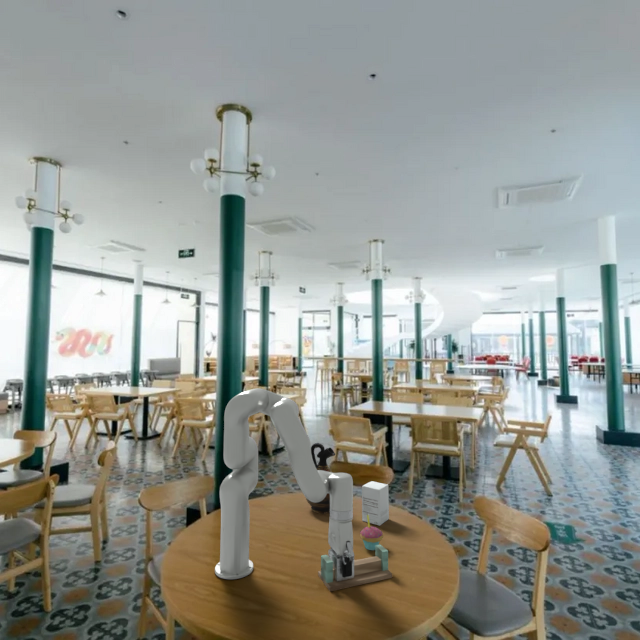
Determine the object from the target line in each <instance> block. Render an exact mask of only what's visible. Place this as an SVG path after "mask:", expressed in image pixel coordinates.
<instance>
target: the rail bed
mask: <svg viewBox="0 0 640 640" xmlns="http://www.w3.org/2000/svg"><path fill="white" fill-rule="evenodd" d="M374 551H375V556H369V557H365V558H360V559H354V578H352V579H347V580H342V581H338V582H337V581H336V580H335V568H334V567H333V561H332V560H331V559H330V558H329V557H328V554H323V555H321V556H320V570H318V571H317V575H318V577H319V579H320V580H321V581H322V582H323V584H324V585H325V587H326V588H327V589H328V591H329V592H334V591H339V590H342V589H346V588H347V589H348V588H351V587H358V586H361V585H364V584H369V583H373V582H378V581H379V582H380V581H382V580H387V579H392V578H393V573H392V572H391V571H390V570H389V550H388V549H387V548H386V547H384V546H383V545H382V544H380V543H379V545H375V550H374Z"/></svg>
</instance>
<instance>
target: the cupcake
mask: <svg viewBox="0 0 640 640" xmlns="http://www.w3.org/2000/svg"><path fill="white" fill-rule="evenodd" d="M367 520H368V522H367V526H366V527H363V528H362V529H361V530H360V532H359V535H360V539H361V540H362V542H363V545H364V548H365V549H366V550H369V551H375V545H380V542H381V541H382V540H383V538H384V533H383V531H382V530H381V529H379V528H378V527H376V526H371V525H370V524H371V523H369V515H368V513H367Z"/></svg>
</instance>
